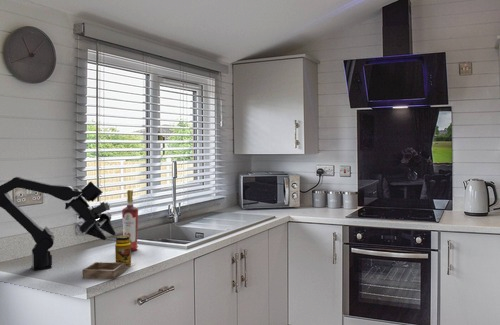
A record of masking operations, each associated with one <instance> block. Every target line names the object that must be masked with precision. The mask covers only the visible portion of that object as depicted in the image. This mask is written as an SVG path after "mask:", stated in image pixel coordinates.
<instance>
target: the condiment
mask: <svg viewBox="0 0 500 325" xmlns="http://www.w3.org/2000/svg"><path fill="white" fill-rule="evenodd" d="M114 246H115V248H114V249H115V252H114V253H115V254H114V255H115V259H114V260H115V263H126V269H128V268H130V267H132V266H134V265H135V263H132V251H131V243H130V237H129V236H124V235H119V236H116V237H115V245H114Z"/></svg>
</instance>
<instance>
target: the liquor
mask: <svg viewBox="0 0 500 325" xmlns="http://www.w3.org/2000/svg"><path fill="white" fill-rule="evenodd" d="M133 194H134V190H133V189H127V190H126V196H127V198H126V206H125V207H124V208H122V209H121V217H122V219H121V220H122V232H123V236H129V237H130V243H131V252H133V251H137V249H138V248H139V245H138V225H139V208H137V207H135V206H134V200H133Z"/></svg>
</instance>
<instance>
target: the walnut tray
mask: <svg viewBox="0 0 500 325" xmlns="http://www.w3.org/2000/svg"><path fill="white" fill-rule="evenodd" d="M126 269H127V268H126V263H116V262H107V261H105V262H103V261H95V262H93V263H91V264H90V265H89V266H86V267H84V268H83V269H81V270H82V279H100V280H101V279H103V280H115V279H116V278H117V277H119V276H121V275H122V274H123V273H124V272H126V271H127V270H126Z"/></svg>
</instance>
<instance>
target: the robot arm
mask: <svg viewBox="0 0 500 325" xmlns="http://www.w3.org/2000/svg"><path fill="white" fill-rule="evenodd" d="M16 188H17V189H23V190H29V191H33V192H36V193H40V194H45V195H46V194H47V195H50V196H52V197H54V198H56V199H59V200H62V201H64V202H65V203H64V204H65V208H64V209H65V210H68V211H69V210H71V209H72V210H73V211H74V212H75V213H76V215H78V219H79V220H81V219H82V220H83V223H81V224H80V226H79V232H80V233H81V234H85V235H88V236H91V237H95V238H98V239H100V240H103V241H106V240H107V237H106V235H105V234H104V231H105V232H106V233H108V234H110V235H111V236H115V235H117V234H116V231H115V229H114V228H113V225H112V223H111V220H112V214H111V213H110V212H107V211H110V210H111V208H110V205H111V204H109V202H107V201H103V202H100V204H99V205H97V206H94V205H90V204H89V203H90V202H94V201H96V199H98V198H99V197H100V196H101V195H102V194H103V193H104V192H103V190H102V189H101V188H100V187H99V186H98V185H96V184H95V183H94V182H92V180H91V181H89V182H88V183H87V184H86V185H85V186H84V187H83V188H82V189H80V188H79V189H77V188H73V187H72V186H71V185H66V184H63V185H62V184H50V183H45V182H40V181H36V180H32V179H27V178H23V177H21V176H15V177H12V179H10V180H8V181H7V182H4V183H3V184H1V185H0V208H2V209H3V210H4V211H5V212H7V213H8V214H9V215H10V216H11V217H12V218H13V219H14V220H15V221H16V222H17V223H18V224H20V226H21V227H23V229H25V230H26V232H28V233H29V235H30V236H31V238H32V239H33V241H34V242H35V245H34V246H33V247H32V249H31V266H30V267H31V268H32V270H33V271H38V270H39V271H40V270H45V269H47V270H48V269H52V268H53V267H52V266H53V255H52V254H51V251H50V249H51V248H52V247H53V246H54V244H55V240H56V239H55V235H54V232H53V231H51V230H50V229H49V228H48V227H47V226H45V227H44V228H43V227H41V226H39V225H38V224H37V222H35V221H34V220H33V219H32V218H31V217H29V215H28V214H27V213H25V211H24V210H22V208H20V207H19V206H18V205H17V204H16V203H15V202H14V201H13V199H12V198H11V196H10V194H9V193H10V192H11V191H13V190H15V189H16ZM102 231H103V232H102Z"/></svg>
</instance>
